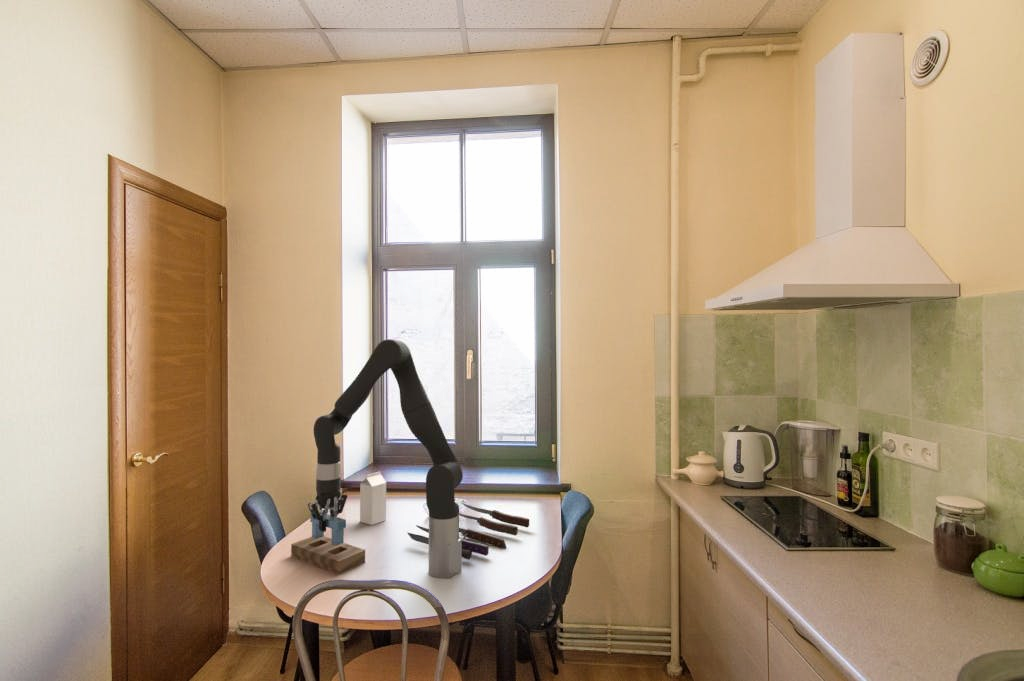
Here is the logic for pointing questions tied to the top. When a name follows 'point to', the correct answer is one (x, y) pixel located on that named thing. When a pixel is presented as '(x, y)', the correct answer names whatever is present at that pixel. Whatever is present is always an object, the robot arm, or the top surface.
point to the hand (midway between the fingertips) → (327, 529)
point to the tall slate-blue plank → (334, 524)
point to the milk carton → (373, 499)
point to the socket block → (328, 554)
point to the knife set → (479, 536)
